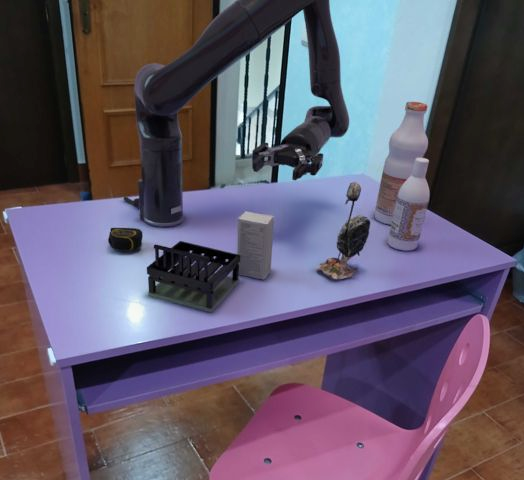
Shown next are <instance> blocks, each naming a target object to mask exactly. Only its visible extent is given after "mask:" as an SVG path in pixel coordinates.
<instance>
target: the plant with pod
mask: <svg viewBox="0 0 524 480" xmlns="http://www.w3.org/2000/svg"><path fill="white" fill-rule="evenodd" d="M361 192H362V186H361V185H360V183H358V182H356V181H353V182H350V183H349V186H348V188H347V190H346V195H345V196H346V200H345V205H347V204H348V203H349V202H352V203H351V207H350V211H349V215H348V219H347V220H346V221H345V223H344V224H343V225H342V227H341V228H340V231H339V233H338V234H337V236H336V237H337V239H336V249H337V250H338V251H339V252H338V253H339V254H338V256H337V257H329V258H327V259H326V261H324V262H322V263H319V265H318V266H317V267H316V268H315V270H316V271H322V272H321V273H323V274H324V275H325V276H327V277H328V278H329V279H330V280H335V281H336V280H337V281H338V280H342V279H346V278H352V277H353V276H354V274H355V273H356V272H357V269H358V268H357V267H352V266H349V265H348V262H349V261H350V259H351V258H353V257H355V256H356V255H357V256H360V252H362V250H363V249H364V247H365V245H366V243H367V240H368V237H369V235H370V228H371V227H370V226H371V220H370V219H369V217H368V216H364V215H361V214H359V215H356V216H353V217H352V215H353V210H354V206H355V203H356V202H357V201H358V200H359V198H360V197H361ZM371 219H373V217H371ZM341 255H342V256H341ZM340 256H341V258H340Z"/></svg>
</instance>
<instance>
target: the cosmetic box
mask: <svg viewBox="0 0 524 480" xmlns="http://www.w3.org/2000/svg"><path fill="white" fill-rule="evenodd" d="M274 222H275V216H274V215H270V214H264V213H259V212H252V211H247V210H245V211H244V212H243V213H242V214H241V215H240V216H238V217H237V248H236V249H237V251H236V254H238V255H241V256H240V262H239V263H238V264H239V276H244V277H247V278H248V277H249V278H253V279H256V280H257V279H258V280H263V281H265V280H266V279H267V277H268V276H269V275H270V273H271V269H272V253H273V243H274V242H273V241H274V240H273V239H274Z"/></svg>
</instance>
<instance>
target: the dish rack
mask: <svg viewBox="0 0 524 480" xmlns="http://www.w3.org/2000/svg"><path fill="white" fill-rule="evenodd" d="M153 249H154V255H155V257H154V258H155V260H154V261H152V263H150V264H149V265H147V266H146V275H148V277H147V283H148V293H147V296H148V297H150V298H154V299H158V300H162V301H165V302H168V303H173V304H176V305H180V306H183V307H187V308H190V309H191V308H192V309H195V310H199V311H202V312H206V313H210V314H212V313H213V312H214V311H215V310H216V309H217V307H219V305H220V304H221V303H222V302H223V301H225V299H226V298H227V297H228V295H229V294H230V293H232V291H233V290H234V289H235V288H236V286H237V285H238V284H240V275H239V264H238V263H239V262H240V256H241V255H238V254H237V253H234V252H229V251H226V250H220V249H217V248H212V247H208V246H205V245H199V244H195V243H191V242H187V241H183V240H179V241H178V242H177V243H175V244H174V245H173V246H172V247H168V246H164V245H161V244H154V245H153ZM160 251H162V254H161V256H160ZM231 273H232V276H229V274H231ZM156 283H157V284H156Z"/></svg>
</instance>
